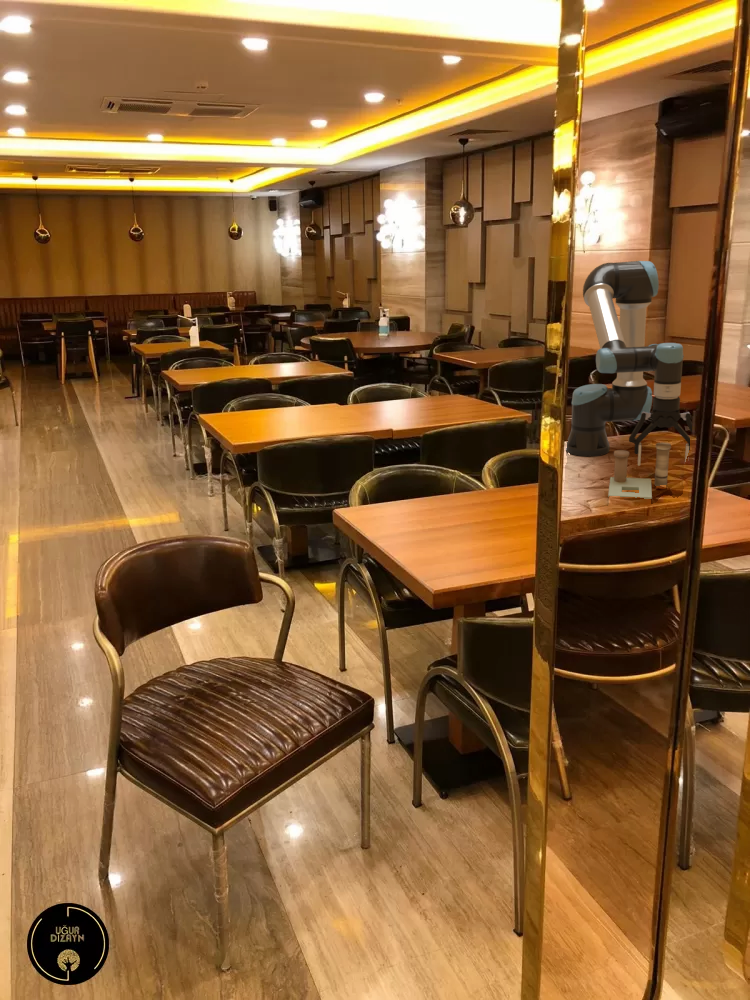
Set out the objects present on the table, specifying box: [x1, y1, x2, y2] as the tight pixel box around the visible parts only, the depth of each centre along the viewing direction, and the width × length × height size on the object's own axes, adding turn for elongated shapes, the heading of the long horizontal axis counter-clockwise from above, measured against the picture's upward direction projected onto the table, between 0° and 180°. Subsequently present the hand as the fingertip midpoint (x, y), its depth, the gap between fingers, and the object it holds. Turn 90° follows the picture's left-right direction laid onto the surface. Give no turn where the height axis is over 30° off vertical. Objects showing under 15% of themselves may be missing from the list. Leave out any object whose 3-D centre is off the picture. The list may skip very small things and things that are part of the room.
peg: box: [654, 441, 672, 486], centre depth 249 cm, size 4×4×14 cm
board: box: [607, 449, 653, 500], centre depth 242 cm, size 17×12×13 cm
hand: (662, 465), depth 249 cm, fingers open, 13 cm apart
